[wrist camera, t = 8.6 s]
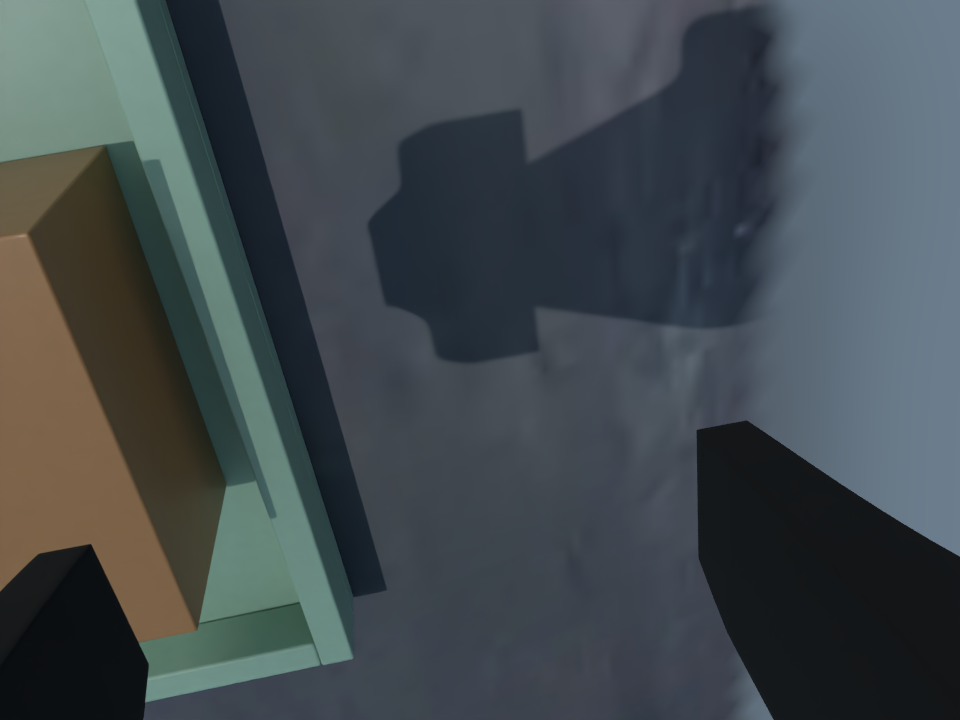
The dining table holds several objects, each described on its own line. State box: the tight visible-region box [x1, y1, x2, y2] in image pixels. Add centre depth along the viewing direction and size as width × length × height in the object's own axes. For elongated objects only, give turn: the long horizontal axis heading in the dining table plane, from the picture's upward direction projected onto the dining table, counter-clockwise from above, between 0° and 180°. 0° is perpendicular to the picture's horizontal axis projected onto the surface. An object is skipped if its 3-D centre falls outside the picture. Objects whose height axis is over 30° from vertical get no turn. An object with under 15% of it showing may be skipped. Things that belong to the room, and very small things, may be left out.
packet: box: [0, 145, 226, 642], centre depth 16 cm, size 4×8×4 cm, turn 8°
